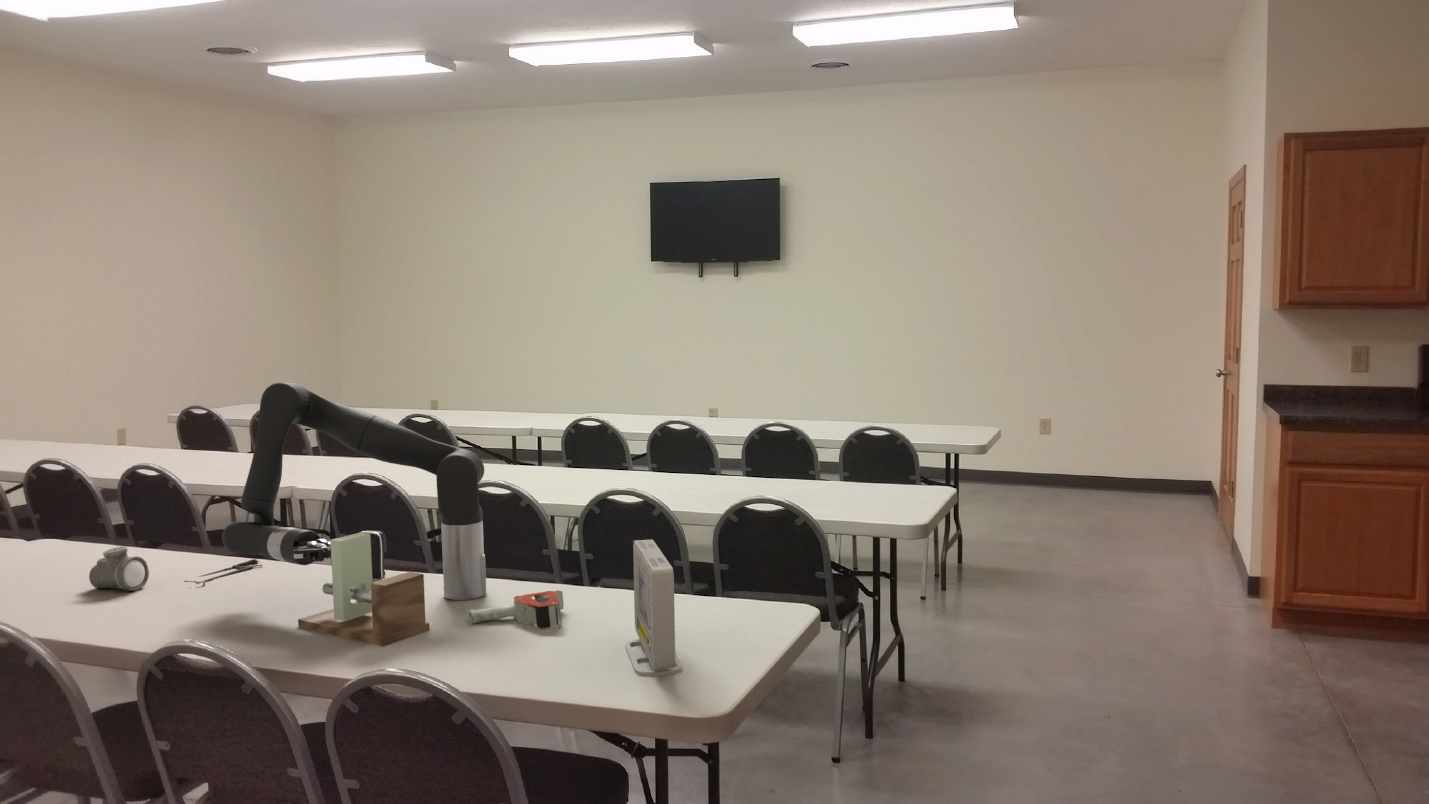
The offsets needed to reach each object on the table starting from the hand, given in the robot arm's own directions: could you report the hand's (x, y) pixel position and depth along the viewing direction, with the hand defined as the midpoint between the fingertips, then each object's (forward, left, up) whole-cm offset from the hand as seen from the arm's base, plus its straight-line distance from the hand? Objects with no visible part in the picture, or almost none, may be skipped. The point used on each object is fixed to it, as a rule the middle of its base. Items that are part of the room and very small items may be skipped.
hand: (346, 554), depth 219 cm
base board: (-3, +3, -15) cm, 16 cm away
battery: (-5, -40, -15) cm, 43 cm away
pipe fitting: (+53, -50, -15) cm, 75 cm away
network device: (-55, +41, -15) cm, 70 cm away
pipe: (-3, +3, -9) cm, 10 cm away
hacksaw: (+30, -55, -16) cm, 65 cm away
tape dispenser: (-35, +9, -16) cm, 40 cm away
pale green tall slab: (-1, +1, -13) cm, 13 cm away
